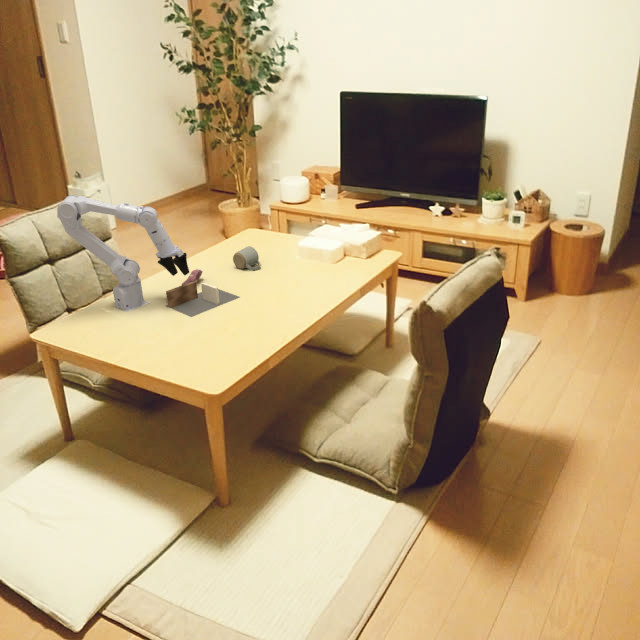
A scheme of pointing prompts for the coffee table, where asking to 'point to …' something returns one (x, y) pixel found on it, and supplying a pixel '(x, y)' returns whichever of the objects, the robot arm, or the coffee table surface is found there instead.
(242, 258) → the ceramic mug
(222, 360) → the coffee table surface
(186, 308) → the mat
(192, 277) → the pink irregular lump
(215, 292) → the tile
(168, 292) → the brown wooden block
